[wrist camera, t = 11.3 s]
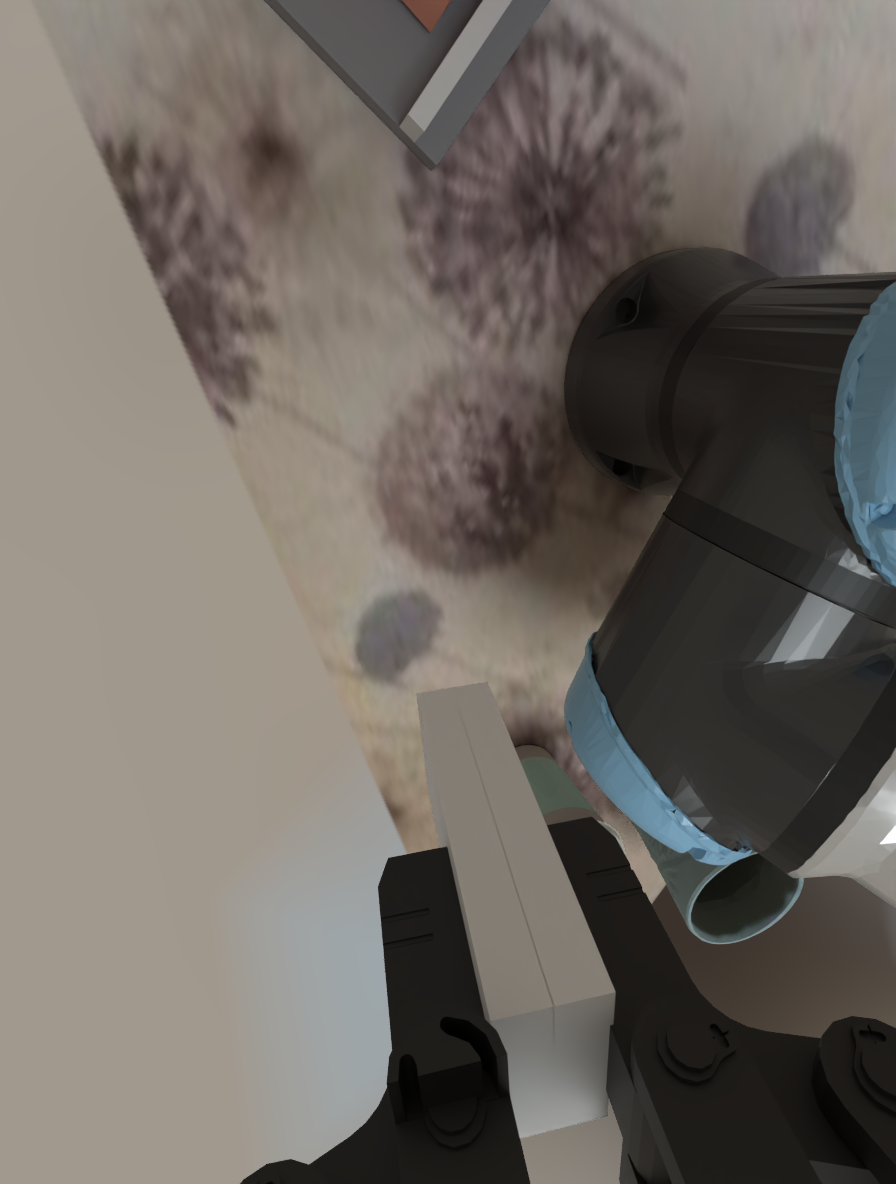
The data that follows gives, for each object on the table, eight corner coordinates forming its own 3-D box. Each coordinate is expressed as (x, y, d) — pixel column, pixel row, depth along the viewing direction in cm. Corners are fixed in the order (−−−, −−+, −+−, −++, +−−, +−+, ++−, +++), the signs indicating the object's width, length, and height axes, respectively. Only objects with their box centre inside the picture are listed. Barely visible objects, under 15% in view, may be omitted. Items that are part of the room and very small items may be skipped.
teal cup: (700, 826, 63) (785, 933, 52) (607, 841, 61) (676, 956, 50) (724, 744, 59) (821, 842, 48) (625, 756, 56) (704, 862, 46)
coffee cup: (452, 785, 53) (495, 907, 42) (521, 714, 52) (583, 822, 41) (520, 824, 57) (575, 944, 46) (586, 758, 55) (658, 868, 45)
